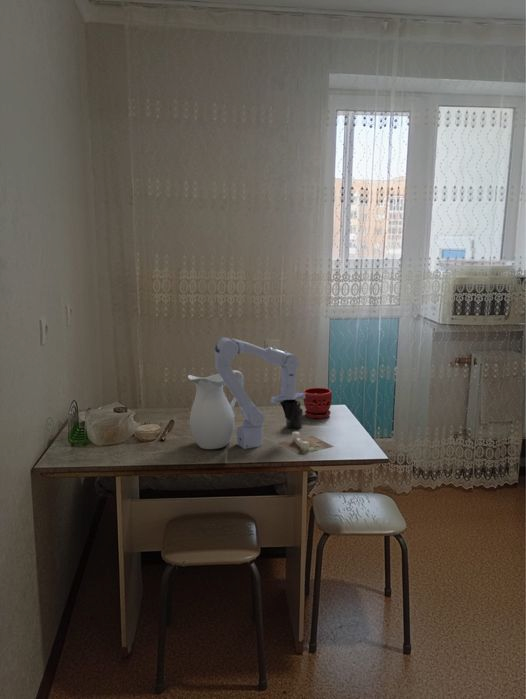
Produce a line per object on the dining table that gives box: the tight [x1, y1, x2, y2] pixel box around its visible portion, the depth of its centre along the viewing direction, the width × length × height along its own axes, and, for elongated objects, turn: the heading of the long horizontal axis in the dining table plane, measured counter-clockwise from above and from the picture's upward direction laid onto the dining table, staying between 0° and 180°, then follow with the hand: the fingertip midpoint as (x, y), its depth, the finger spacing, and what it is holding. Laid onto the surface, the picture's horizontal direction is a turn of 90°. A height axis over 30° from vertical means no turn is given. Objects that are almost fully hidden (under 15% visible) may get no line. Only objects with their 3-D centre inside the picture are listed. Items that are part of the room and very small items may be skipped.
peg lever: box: [291, 431, 309, 451], centre depth 199 cm, size 12×3×3 cm, turn 18°
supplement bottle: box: [285, 400, 304, 430], centre depth 221 cm, size 7×7×12 cm
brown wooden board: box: [279, 435, 334, 455], centre depth 201 cm, size 16×14×1 cm
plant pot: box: [302, 387, 333, 419], centre depth 241 cm, size 13×13×12 cm
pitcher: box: [187, 369, 245, 450], centre depth 203 cm, size 24×17×28 cm
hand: (288, 418), depth 205 cm, fingers closed
